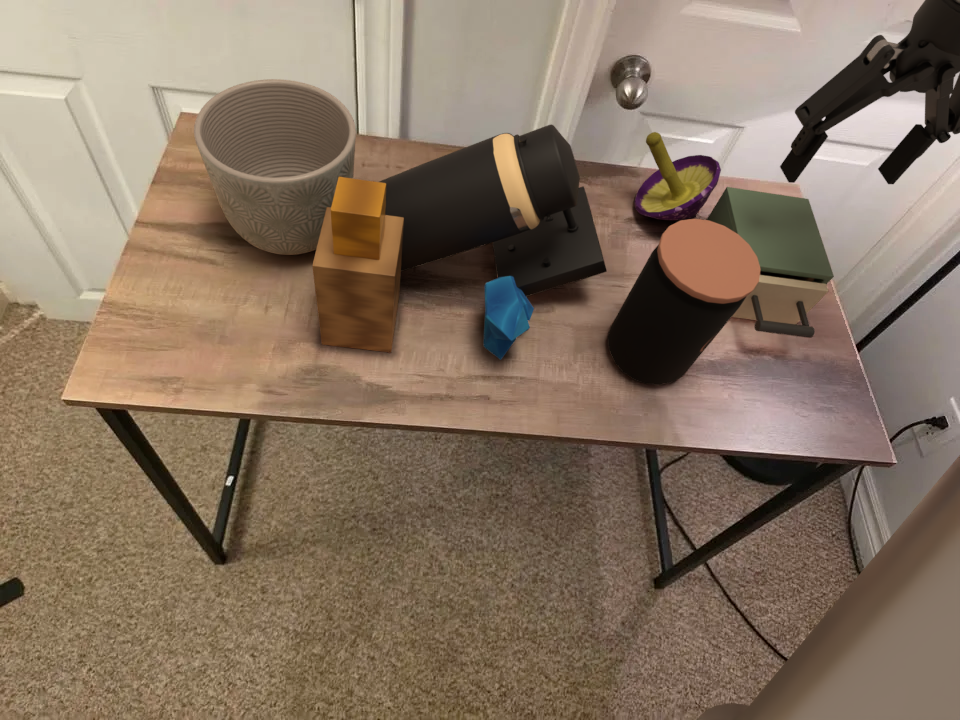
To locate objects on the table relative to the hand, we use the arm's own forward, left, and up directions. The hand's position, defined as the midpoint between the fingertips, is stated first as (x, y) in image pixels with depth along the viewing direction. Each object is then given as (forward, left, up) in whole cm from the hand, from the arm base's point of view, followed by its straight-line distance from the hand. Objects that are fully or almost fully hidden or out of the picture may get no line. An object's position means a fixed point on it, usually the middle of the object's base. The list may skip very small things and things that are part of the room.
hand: (836, 175), depth 76 cm
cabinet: (+1, +4, -17) cm, 17 cm away
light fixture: (+25, +34, -17) cm, 46 cm away
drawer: (-2, +7, -16) cm, 18 cm away
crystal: (+15, +40, -17) cm, 46 cm away
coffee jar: (+1, +25, -17) cm, 31 cm away
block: (+26, +51, -3) cm, 57 cm away
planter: (+43, +49, -17) cm, 67 cm away
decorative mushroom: (+22, +7, -6) cm, 23 cm away
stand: (+26, +51, -17) cm, 59 cm away
